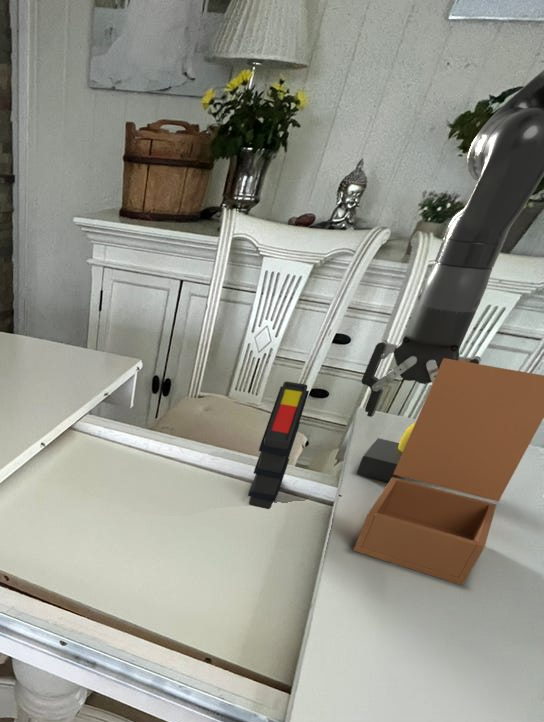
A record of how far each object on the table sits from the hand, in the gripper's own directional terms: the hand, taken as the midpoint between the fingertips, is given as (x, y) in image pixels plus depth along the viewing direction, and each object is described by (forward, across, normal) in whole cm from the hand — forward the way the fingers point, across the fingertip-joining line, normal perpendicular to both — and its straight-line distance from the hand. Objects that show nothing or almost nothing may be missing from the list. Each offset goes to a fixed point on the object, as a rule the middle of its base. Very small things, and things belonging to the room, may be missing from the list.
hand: (398, 421), depth 91 cm
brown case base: (+7, -10, +24) cm, 27 cm away
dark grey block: (+8, 0, 0) cm, 8 cm away
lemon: (+3, -4, -3) cm, 6 cm away
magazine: (+8, +11, +23) cm, 27 cm away
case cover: (-5, -10, +16) cm, 20 cm away
